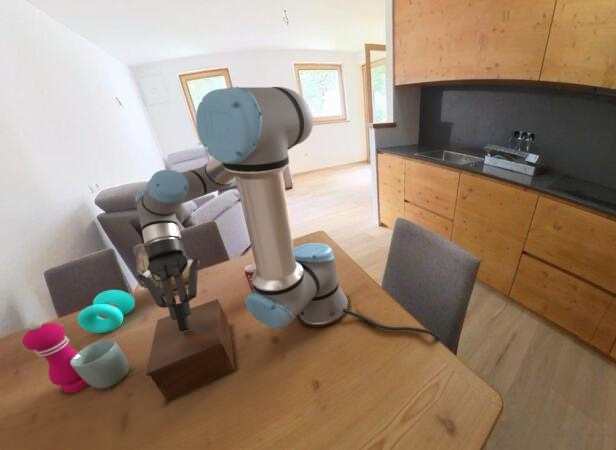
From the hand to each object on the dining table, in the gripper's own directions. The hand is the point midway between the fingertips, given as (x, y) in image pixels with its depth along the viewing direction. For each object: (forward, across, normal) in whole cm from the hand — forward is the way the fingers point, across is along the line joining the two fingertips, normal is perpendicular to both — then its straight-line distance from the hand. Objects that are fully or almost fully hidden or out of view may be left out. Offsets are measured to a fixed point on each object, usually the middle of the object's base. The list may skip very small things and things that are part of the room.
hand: (184, 329), depth 68 cm
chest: (+8, 0, -10) cm, 12 cm away
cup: (+4, +19, -14) cm, 24 cm away
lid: (+1, 0, -2) cm, 2 cm away
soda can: (-6, -18, -23) cm, 30 cm away
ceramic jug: (-22, +9, -40) cm, 46 cm away
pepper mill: (+1, +26, -17) cm, 31 cm away
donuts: (-15, +24, -33) cm, 43 cm away
